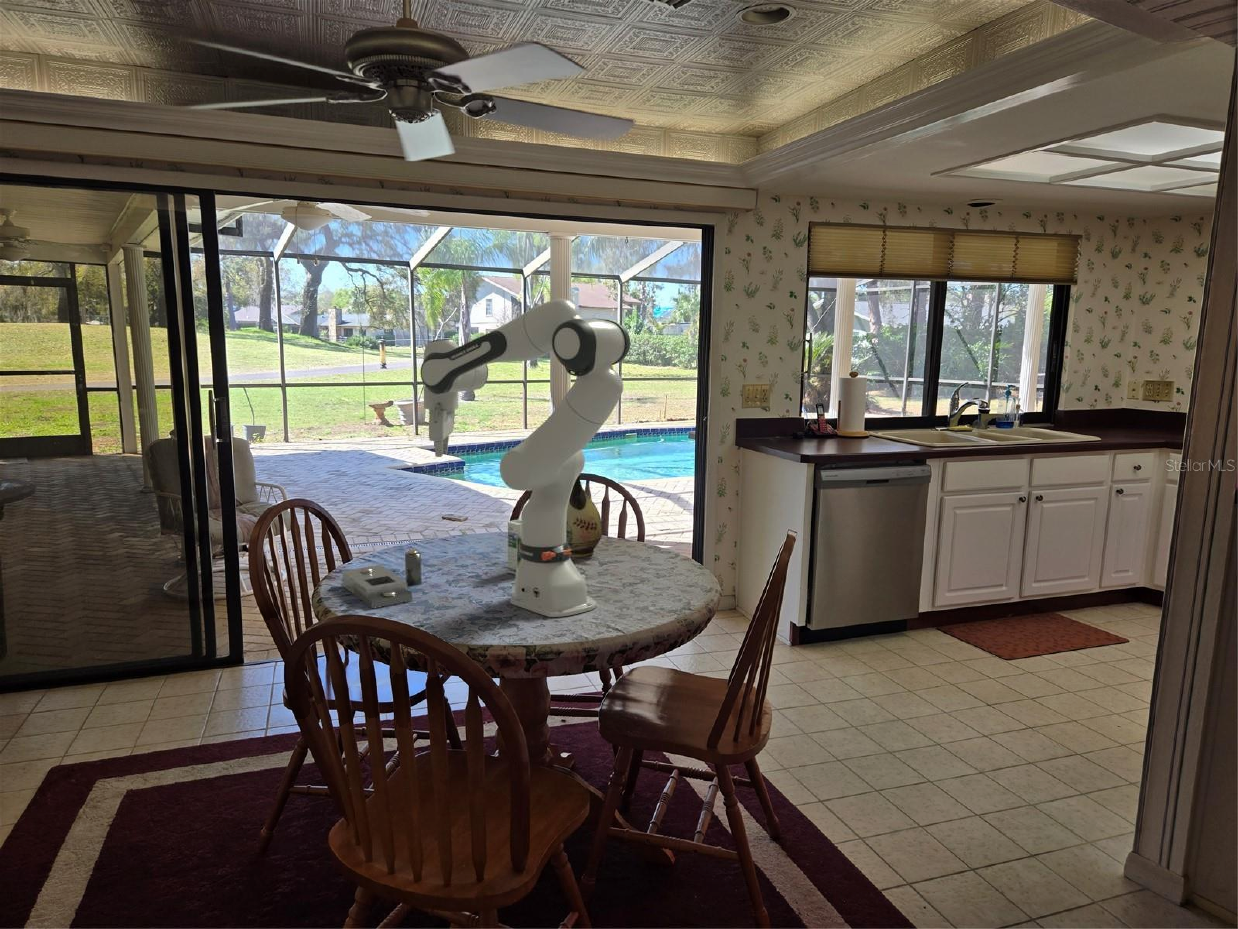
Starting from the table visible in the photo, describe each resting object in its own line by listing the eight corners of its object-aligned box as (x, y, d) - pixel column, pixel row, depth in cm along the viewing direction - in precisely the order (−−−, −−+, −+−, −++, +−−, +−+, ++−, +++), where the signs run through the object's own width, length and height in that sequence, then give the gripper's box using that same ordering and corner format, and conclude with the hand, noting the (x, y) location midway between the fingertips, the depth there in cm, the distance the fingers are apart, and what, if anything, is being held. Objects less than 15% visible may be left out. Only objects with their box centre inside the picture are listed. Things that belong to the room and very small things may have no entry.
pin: (423, 583, 204) (423, 551, 202) (409, 586, 201) (408, 554, 200) (418, 579, 207) (417, 548, 205) (403, 582, 204) (402, 550, 203)
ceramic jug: (551, 548, 241) (550, 452, 236) (600, 547, 242) (600, 452, 238) (551, 563, 224) (551, 460, 220) (604, 561, 226) (605, 460, 221)
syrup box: (506, 572, 214) (506, 521, 212) (523, 568, 218) (523, 518, 216) (519, 577, 210) (518, 524, 208) (536, 572, 214) (536, 521, 212)
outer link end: (407, 597, 192) (407, 580, 191) (367, 605, 186) (366, 587, 185) (380, 579, 207) (380, 562, 206) (342, 585, 201) (342, 568, 200)
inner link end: (412, 601, 189) (411, 590, 189) (371, 609, 183) (371, 598, 183) (393, 587, 200) (392, 578, 199) (354, 594, 194) (353, 584, 193)
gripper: (447, 405, 193) (448, 460, 195) (457, 399, 213) (458, 448, 215) (422, 404, 192) (423, 459, 194) (434, 398, 212) (435, 448, 214)
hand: (441, 453), depth 205 cm, fingers open, 8 cm apart
